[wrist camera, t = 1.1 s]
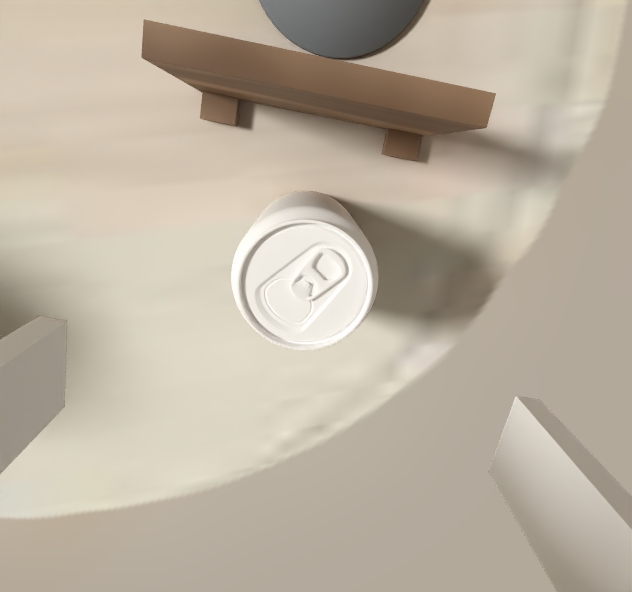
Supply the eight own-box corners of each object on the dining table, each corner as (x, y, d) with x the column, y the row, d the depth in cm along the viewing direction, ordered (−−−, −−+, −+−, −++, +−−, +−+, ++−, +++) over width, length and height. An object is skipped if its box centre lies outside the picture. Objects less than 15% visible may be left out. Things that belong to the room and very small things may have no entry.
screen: (206, 40, 30) (146, -27, 19) (434, 88, 32) (507, 51, 20) (199, 118, 32) (138, 99, 20) (417, 161, 33) (475, 165, 22)
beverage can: (231, 242, 35) (194, 286, 23) (306, 166, 33) (306, 174, 22) (304, 313, 37) (303, 386, 25) (379, 244, 35) (414, 289, 24)
